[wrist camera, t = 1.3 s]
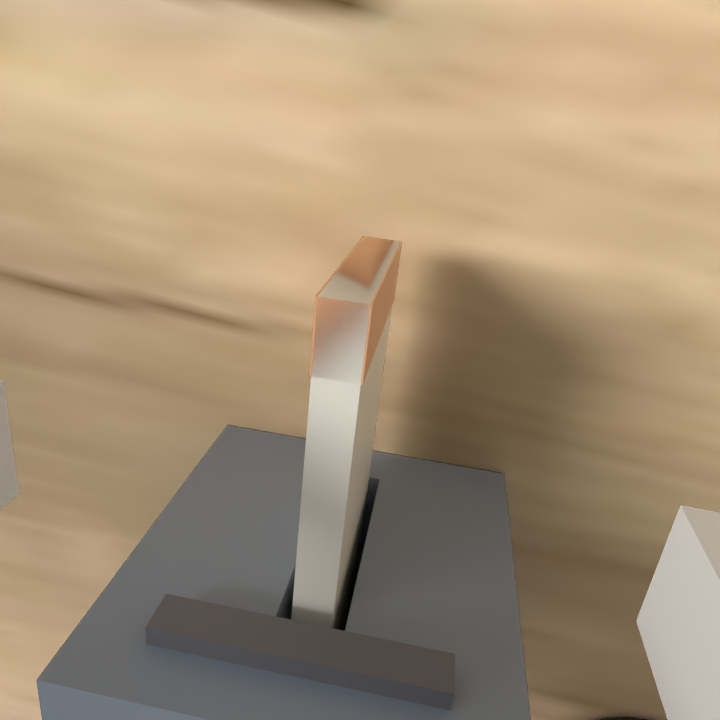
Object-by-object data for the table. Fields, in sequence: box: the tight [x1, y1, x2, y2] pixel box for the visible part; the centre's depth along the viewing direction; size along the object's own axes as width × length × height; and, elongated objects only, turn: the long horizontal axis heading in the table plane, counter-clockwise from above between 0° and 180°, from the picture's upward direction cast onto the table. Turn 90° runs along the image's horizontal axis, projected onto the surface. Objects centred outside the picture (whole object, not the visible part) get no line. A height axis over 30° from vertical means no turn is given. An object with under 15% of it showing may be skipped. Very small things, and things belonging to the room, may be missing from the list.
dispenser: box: [37, 425, 531, 720], centre depth 22 cm, size 12×11×13 cm
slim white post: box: [291, 236, 402, 631], centre depth 20 cm, size 1×18×7 cm, turn 174°
